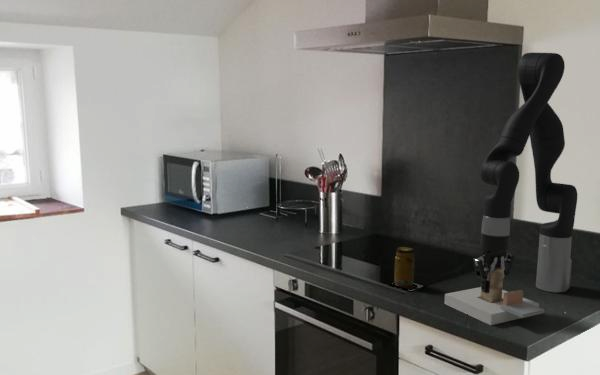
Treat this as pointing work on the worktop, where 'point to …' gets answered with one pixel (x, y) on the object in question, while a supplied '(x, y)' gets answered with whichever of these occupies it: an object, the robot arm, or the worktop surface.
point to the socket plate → (481, 306)
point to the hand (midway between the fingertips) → (491, 291)
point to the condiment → (405, 268)
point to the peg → (494, 286)
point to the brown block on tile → (519, 305)
